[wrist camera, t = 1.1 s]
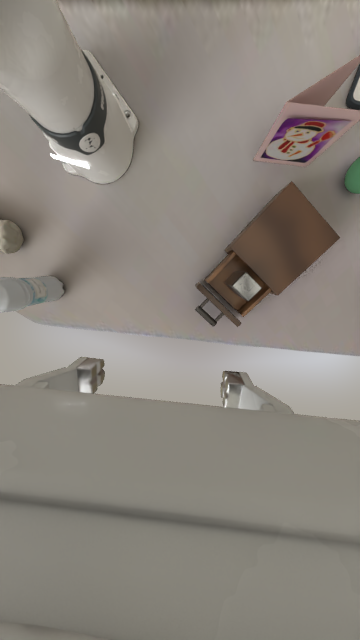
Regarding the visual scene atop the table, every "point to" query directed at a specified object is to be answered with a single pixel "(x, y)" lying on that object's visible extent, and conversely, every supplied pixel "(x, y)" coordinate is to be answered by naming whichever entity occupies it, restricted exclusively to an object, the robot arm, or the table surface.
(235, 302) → the drawer
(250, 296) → the grey block
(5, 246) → the ceramic sculpture
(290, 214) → the cabinet
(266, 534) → the robot arm
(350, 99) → the phone case
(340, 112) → the greeting card
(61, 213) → the table surface
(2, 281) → the bottle
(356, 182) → the alien toy
